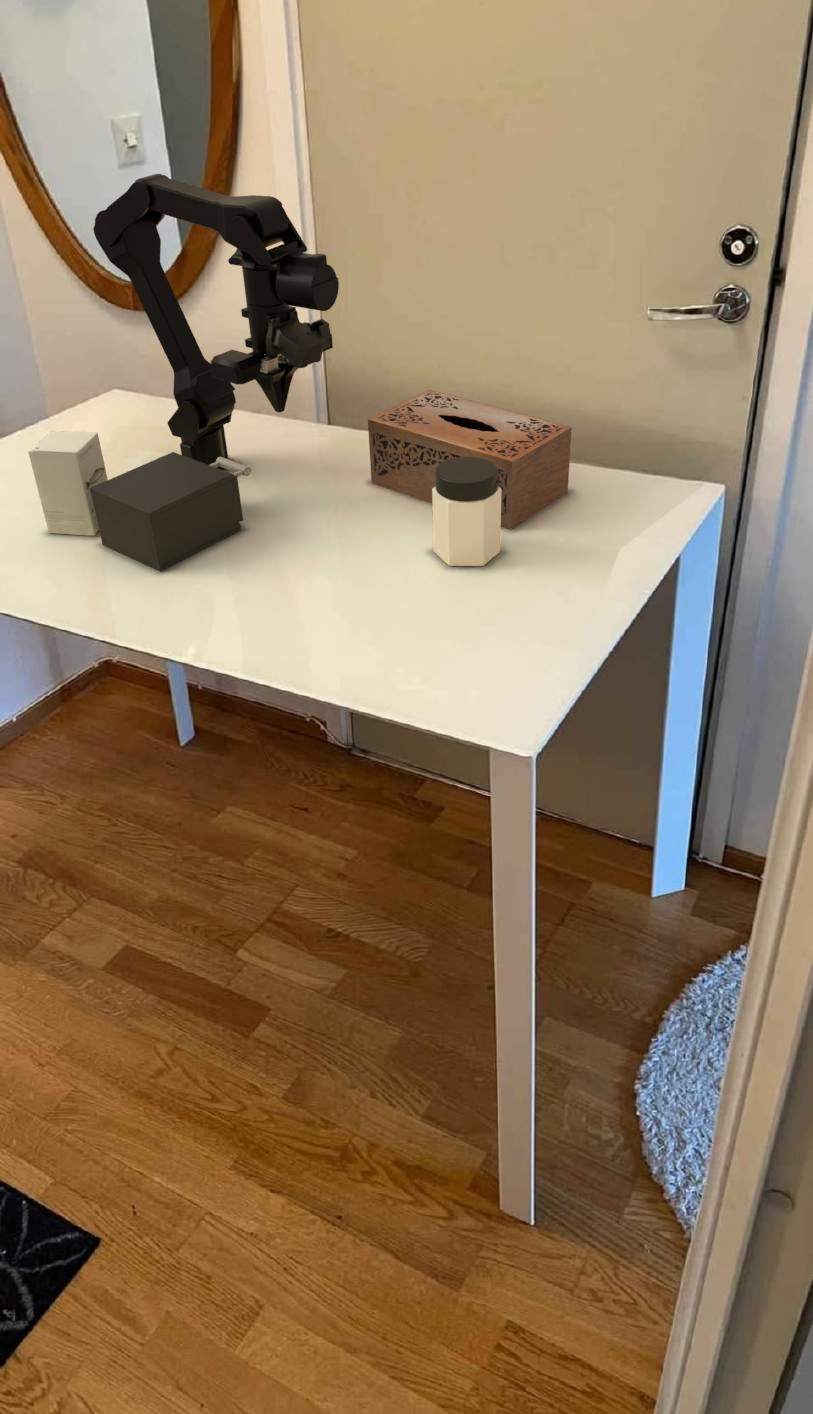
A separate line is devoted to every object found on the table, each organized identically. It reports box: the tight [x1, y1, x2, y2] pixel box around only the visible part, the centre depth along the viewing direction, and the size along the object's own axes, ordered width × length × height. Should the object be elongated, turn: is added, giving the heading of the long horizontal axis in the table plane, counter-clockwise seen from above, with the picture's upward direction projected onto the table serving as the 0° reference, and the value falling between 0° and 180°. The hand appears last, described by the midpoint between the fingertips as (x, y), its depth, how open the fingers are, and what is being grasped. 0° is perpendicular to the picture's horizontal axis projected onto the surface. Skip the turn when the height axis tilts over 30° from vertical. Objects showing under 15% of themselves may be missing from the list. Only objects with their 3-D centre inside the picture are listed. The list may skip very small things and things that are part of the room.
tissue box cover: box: [367, 389, 573, 530], centre depth 157 cm, size 26×14×10 cm, turn 50°
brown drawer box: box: [90, 451, 242, 572], centre depth 148 cm, size 15×13×9 cm
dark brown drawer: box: [210, 457, 252, 522], centre depth 150 cm, size 18×11×7 cm, turn 140°
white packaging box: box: [27, 430, 109, 537], centre depth 151 cm, size 7×7×13 cm
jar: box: [431, 457, 502, 567], centre depth 140 cm, size 9×8×12 cm
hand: (279, 411), depth 154 cm, fingers closed
